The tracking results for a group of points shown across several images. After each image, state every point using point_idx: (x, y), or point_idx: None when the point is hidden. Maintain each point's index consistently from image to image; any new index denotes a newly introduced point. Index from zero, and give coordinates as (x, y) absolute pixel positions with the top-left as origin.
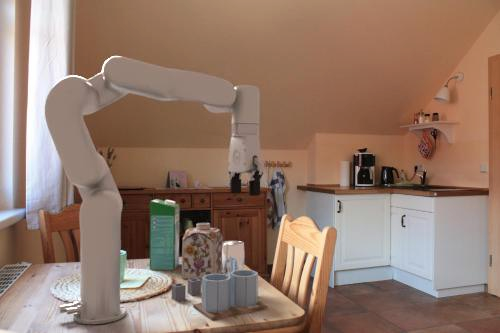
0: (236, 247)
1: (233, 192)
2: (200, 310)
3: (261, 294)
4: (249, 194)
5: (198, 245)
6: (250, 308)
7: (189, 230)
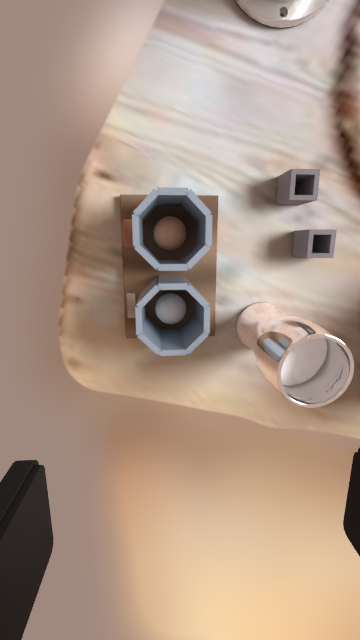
0: (274, 362)
1: (355, 464)
2: None
3: (213, 373)
4: (21, 463)
5: None
6: (126, 296)
7: None
